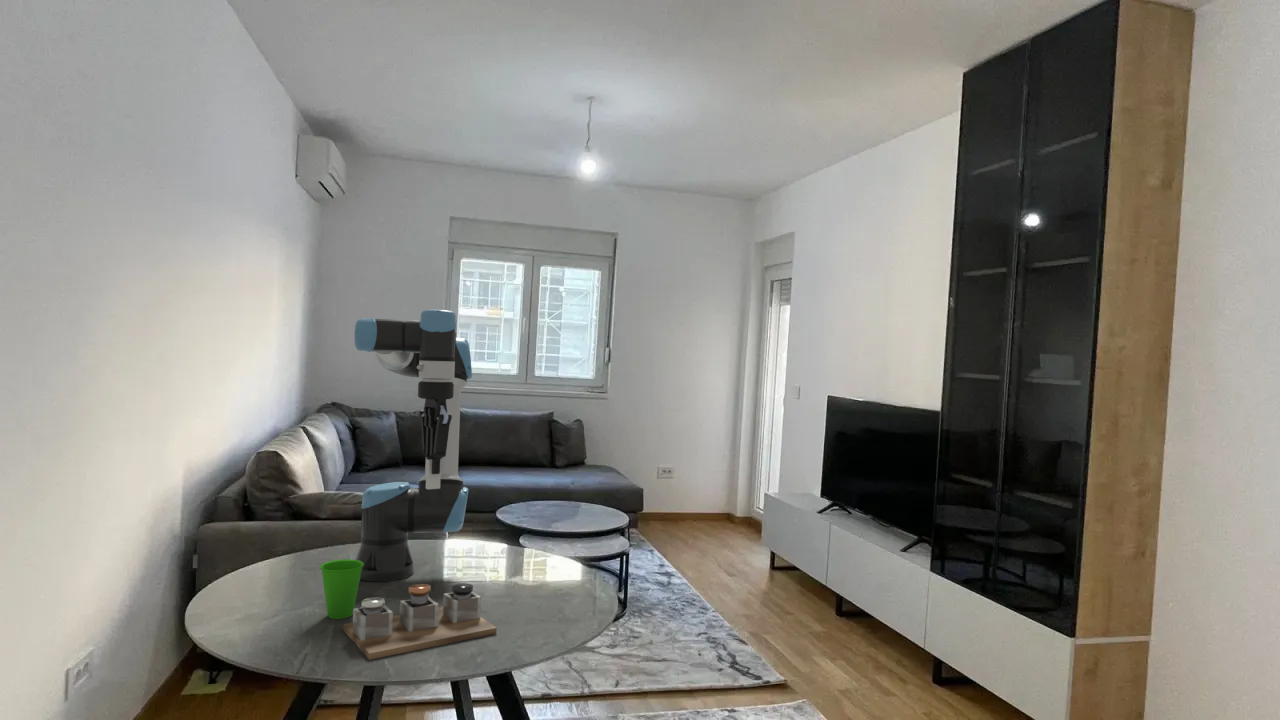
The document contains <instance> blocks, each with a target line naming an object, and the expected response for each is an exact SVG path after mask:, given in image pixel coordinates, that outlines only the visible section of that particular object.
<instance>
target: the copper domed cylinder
mask: <svg viewBox="0 0 1280 720" xmlns="http://www.w3.org/2000/svg"><path fill="white" fill-rule="evenodd" d="M431 587H432V585H430V584H426V583H416V584H411V585H410V586H409V587H408V594H409V595H410V598H409V599H410V606H411V607H412V608H413V607H419V606H425V605H428V597H429V593H430V592H431Z"/></svg>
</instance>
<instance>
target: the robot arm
mask: <svg viewBox="0 0 1280 720" xmlns="http://www.w3.org/2000/svg"><path fill="white" fill-rule="evenodd" d="M456 319H457V318H456V313H455V312H454V311H452V310H445V309H424V310H422V311H421V313H420V319H391V318H390V319H389V318H388V319H387V318H375V317H370V318H369V317H367V318H359V319H357V320H356V322H355V327H354V346H355V348H356V350H357V351H361V352H367V353H371V352H374V353H375V354H376V355H375V356H376V358H377V361H378V362H379V364H380V365H381V366H382V367H383V368H384V369H386V370H387V371H389V372H392V373H395V374H398V375H400V376H404V377H411V378H418V379H420V381H418V383H417V396H418V399H424V400H425V401H424V406H423V409H421V410H420V411H419V418H420V428H421V429H420V430H421V446H422V449H421V450H422V454H423V455H425V464H424V465H425V469H424V475H423V476H422V477H421V478H420V479H419V480H418V487H411V484H410V483H409V481H393V482H386V483H381V484H376V485H373V486H370V487H367V489H365V490H364V491H363V493H362V500H361V501H362V502H361V503H362V504H361V506H360V509H361V527H360V528H361V529H360V530H361V533H360V537H361V538H360V546H359V549H358V552H357V554H356V558H355V560H359V561H362V562H363V563H364V566H363V567H362V571H361V576H360V580H361V581H363V582H364V581H365V582H390V581H396V580H401V579H405V578H407V577H410V576H412V575H413V574H414V572H415V568H414V567H415V563H414V562H415V561H414V558H413V556H412V552H411V549H410V546H409V534H421V533H422V534H424V533H426V534H427V533H429V534H430V533H431V534H432V533H438V534H439V533H442V534H445V533H454V532H459V531H460V530H461V529H462V528H463V525H464V520H465V516H466V515H465V514H466V509H467V503H468V502H467V501H468V497H469V496H468V495H469V488H468V487H466V486H464V480H463V479H462V478H461V477H460V476H459V453H460V452H459V449H460V427H461V426H460V424H461V423H460V422H461V421H460V420H461V399H462V398H461V397H462V396H461V395H462V392H461V391H462V390H463V389H464V388H465V387H466V386H467V381H468V380H471V379H472V378H473V371H472V369H473V368H472V358H471V350H470V344H469V341H468V340H467V339H466V338H464V337H457V331H456V328H457V322H456Z"/></svg>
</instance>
